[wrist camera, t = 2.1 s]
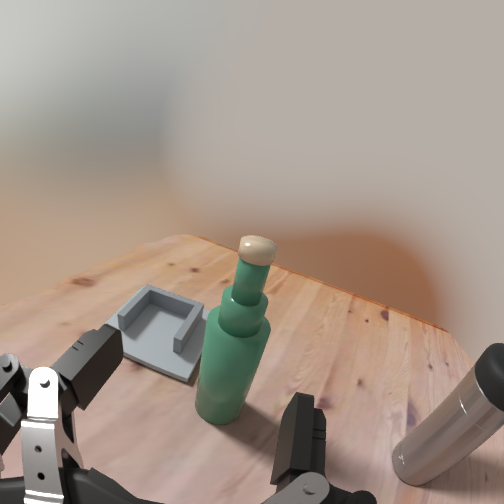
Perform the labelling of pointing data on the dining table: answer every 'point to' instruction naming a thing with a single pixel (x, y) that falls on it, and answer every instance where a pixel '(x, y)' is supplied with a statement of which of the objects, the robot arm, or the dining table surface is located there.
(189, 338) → the bottle rest
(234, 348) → the bottle
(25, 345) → the dining table surface
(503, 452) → the dining table surface
